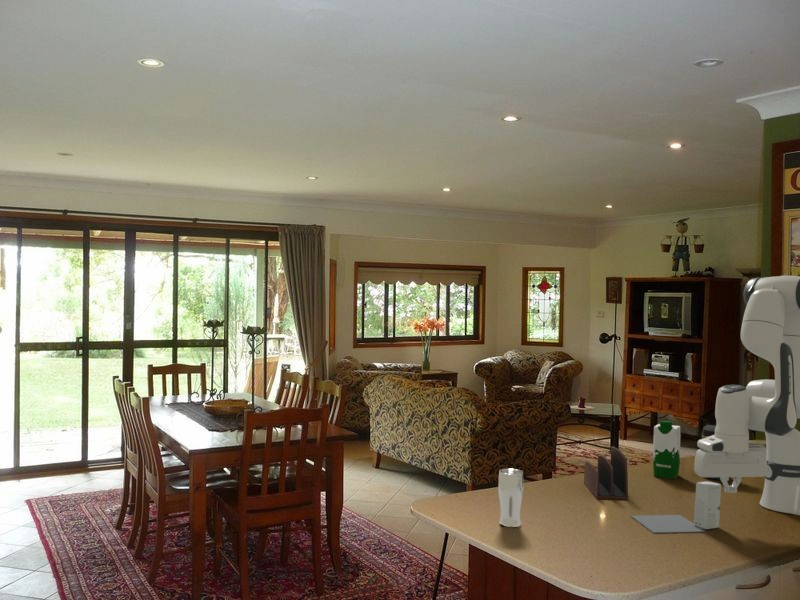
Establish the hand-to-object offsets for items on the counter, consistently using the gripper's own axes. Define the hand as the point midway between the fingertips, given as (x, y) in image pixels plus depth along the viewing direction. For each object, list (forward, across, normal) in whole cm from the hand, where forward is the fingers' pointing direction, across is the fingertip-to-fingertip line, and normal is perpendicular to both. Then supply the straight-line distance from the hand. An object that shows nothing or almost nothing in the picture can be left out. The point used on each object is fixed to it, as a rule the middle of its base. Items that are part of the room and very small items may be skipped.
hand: (730, 492), depth 208 cm
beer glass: (+10, +62, -5) cm, 63 cm away
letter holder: (+10, +21, -38) cm, 45 cm away
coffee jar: (+10, -26, -54) cm, 61 cm away
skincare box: (+10, +7, 0) cm, 12 cm away
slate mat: (+10, +17, -3) cm, 20 cm away
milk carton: (+10, -9, -57) cm, 59 cm away
